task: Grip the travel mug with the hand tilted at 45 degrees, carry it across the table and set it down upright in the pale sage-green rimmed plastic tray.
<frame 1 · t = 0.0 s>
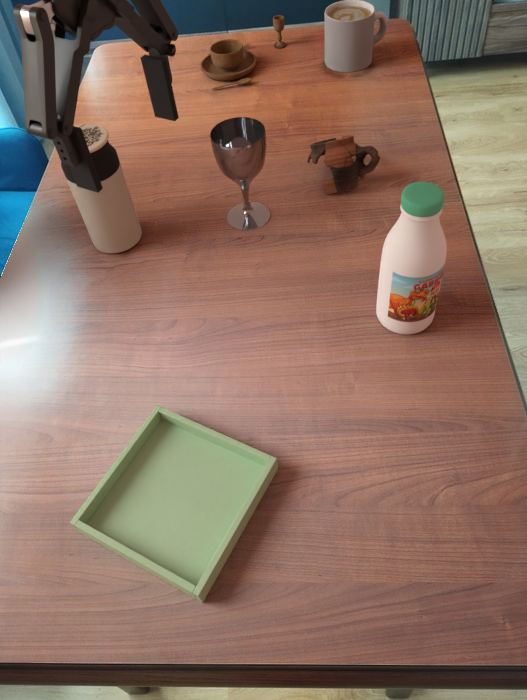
hand: (130, 150, 61), 27 cm above the table, tool pointing down, fingers open, 13 cm apart
milk bottle: (404, 315, 79), on the table
wine glass: (248, 216, 95), on the table
tray: (179, 499, 65), on the table
coffee mug: (356, 60, 124), on the table
place setting: (247, 66, 126), on the table
travel mug: (118, 239, 94), on the table
pottery mug: (342, 178, 99), on the table
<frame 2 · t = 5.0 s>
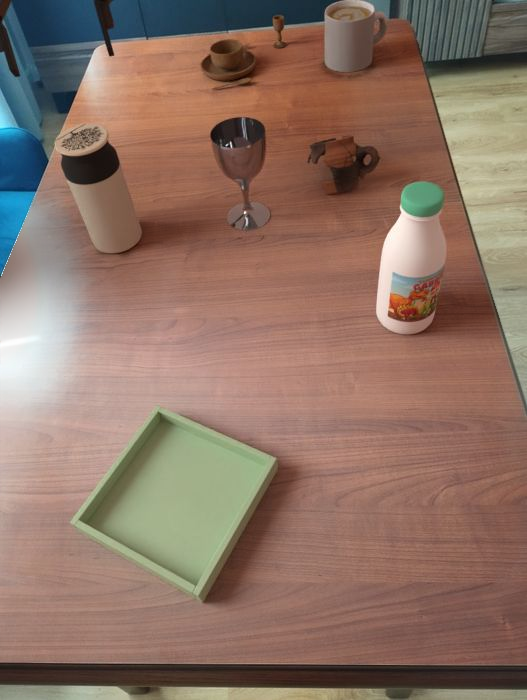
hand: (63, 63, 82), 24 cm above the table, tool tilted 45°, fingers open, 13 cm apart
nothing on the table moved.
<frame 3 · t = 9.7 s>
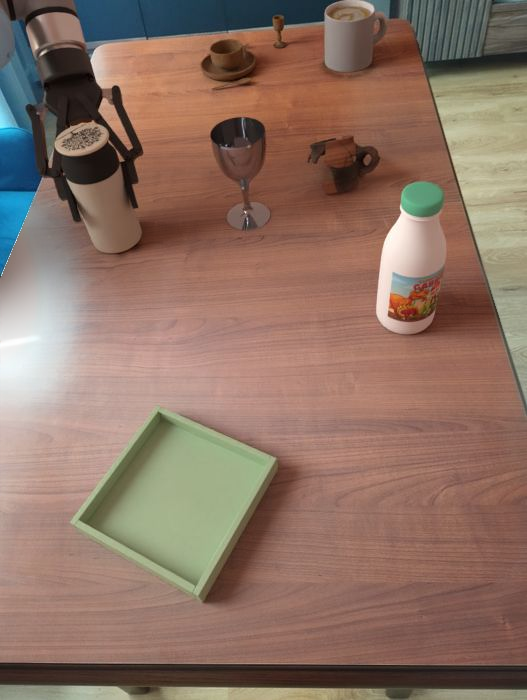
hand: (106, 213, 86), 7 cm above the table, tool tilted 45°, fingers closed on travel mug, 8 cm apart
travel mug: (118, 239, 94), on the table, touching gripper
everything else where it was.
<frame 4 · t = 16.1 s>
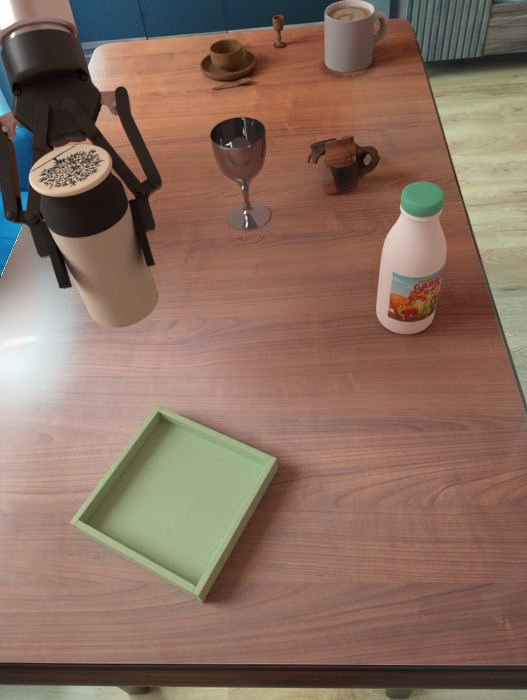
hand: (108, 276, 58), 21 cm above the table, tool tilted 45°, fingers closed on travel mug, 8 cm apart
travel mug: (125, 304, 67), point 13 cm above the table, touching gripper
everything else where it was.
when the fingers open (8 cm above the table, at t = 22.3 s): travel mug stays where it is, resting on tray.
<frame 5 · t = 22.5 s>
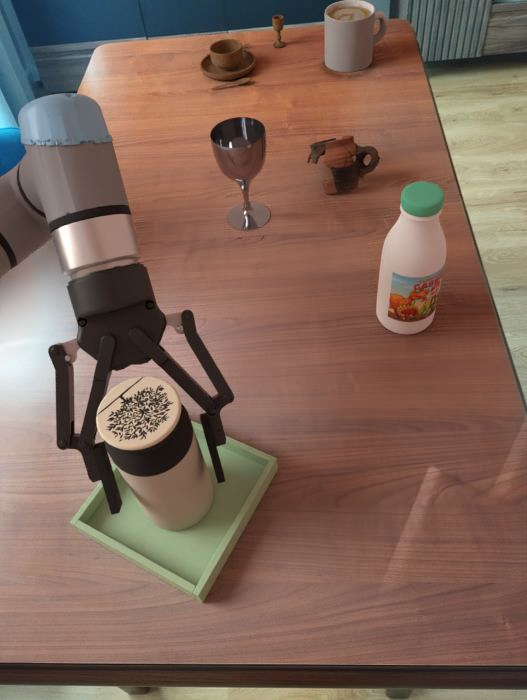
hand: (169, 493, 57), 8 cm above the table, tool tilted 45°, fingers open, 10 cm apart
travel mug: (179, 497, 65), resting on tray
everything else where it was.
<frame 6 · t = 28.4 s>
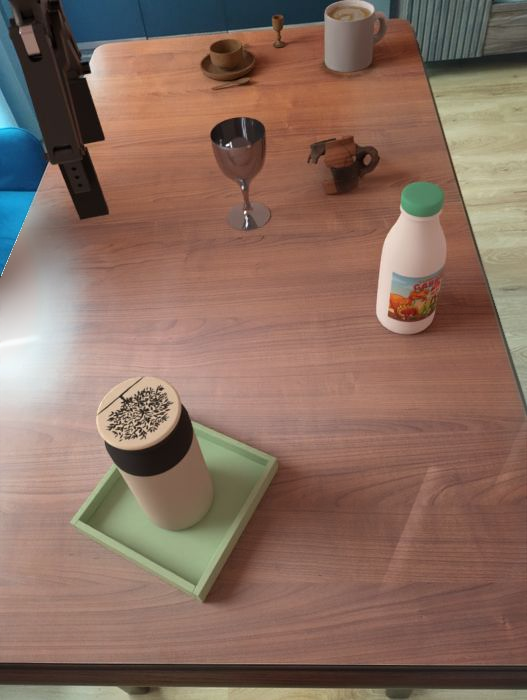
hand: (93, 175, 59), 27 cm above the table, tool pointing down, fingers open, 13 cm apart
nothing on the table moved.
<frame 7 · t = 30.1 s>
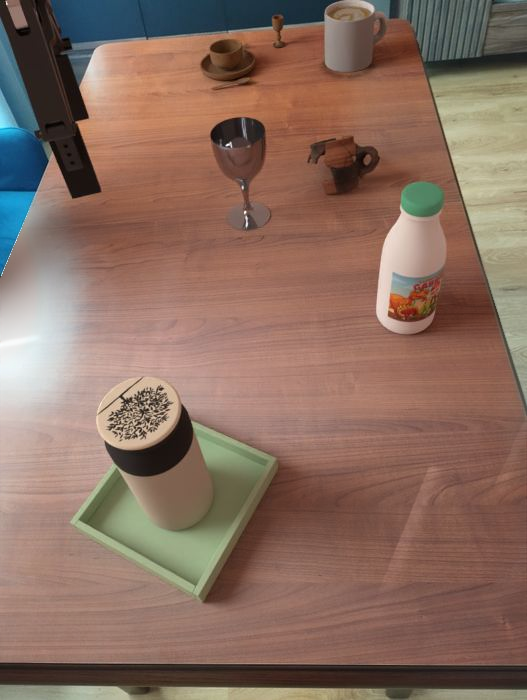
hand: (81, 154, 58), 29 cm above the table, tool pointing down, fingers open, 13 cm apart
nothing on the table moved.
at the end: travel mug inside the target area in the tray (0.0 cm from its centre), point 0.3 cm above the tray's base; travel mug tilted 0°; the gripper is holding nothing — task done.
